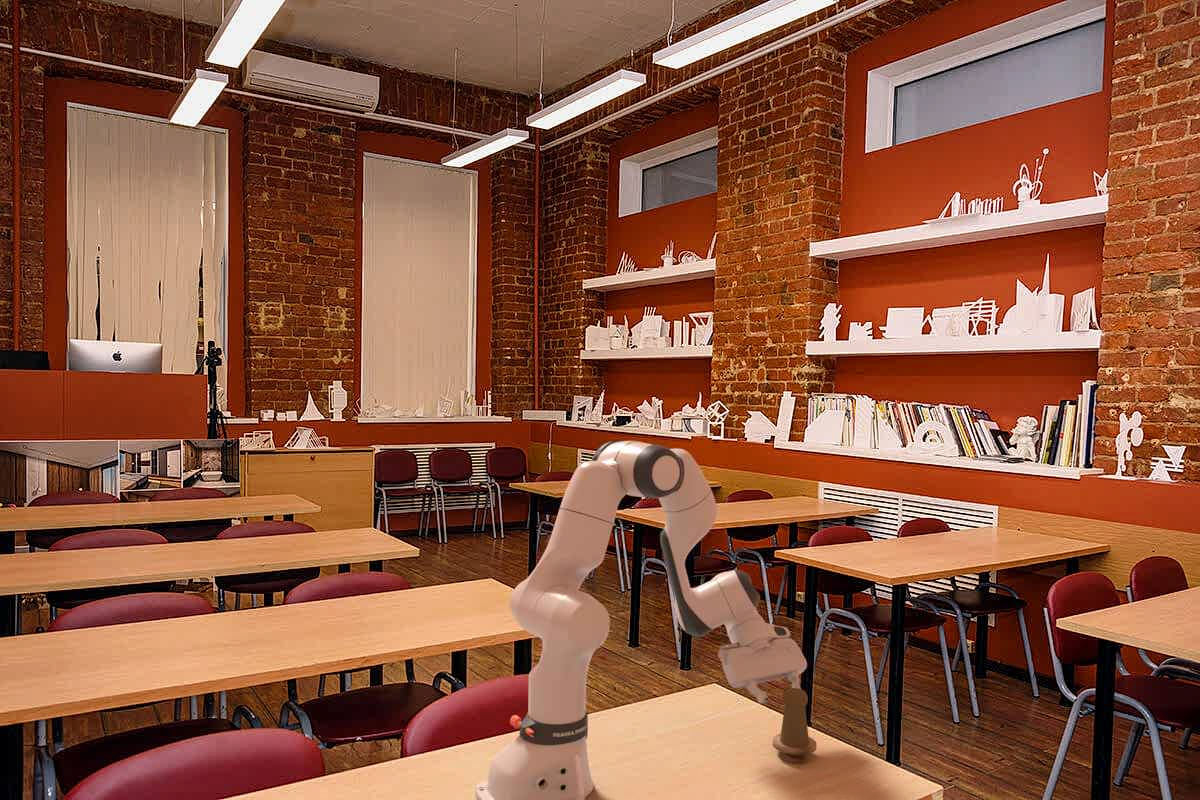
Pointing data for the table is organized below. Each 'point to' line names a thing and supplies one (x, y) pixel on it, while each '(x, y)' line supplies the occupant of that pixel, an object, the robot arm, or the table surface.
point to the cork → (794, 719)
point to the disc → (794, 751)
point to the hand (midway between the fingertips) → (781, 697)
